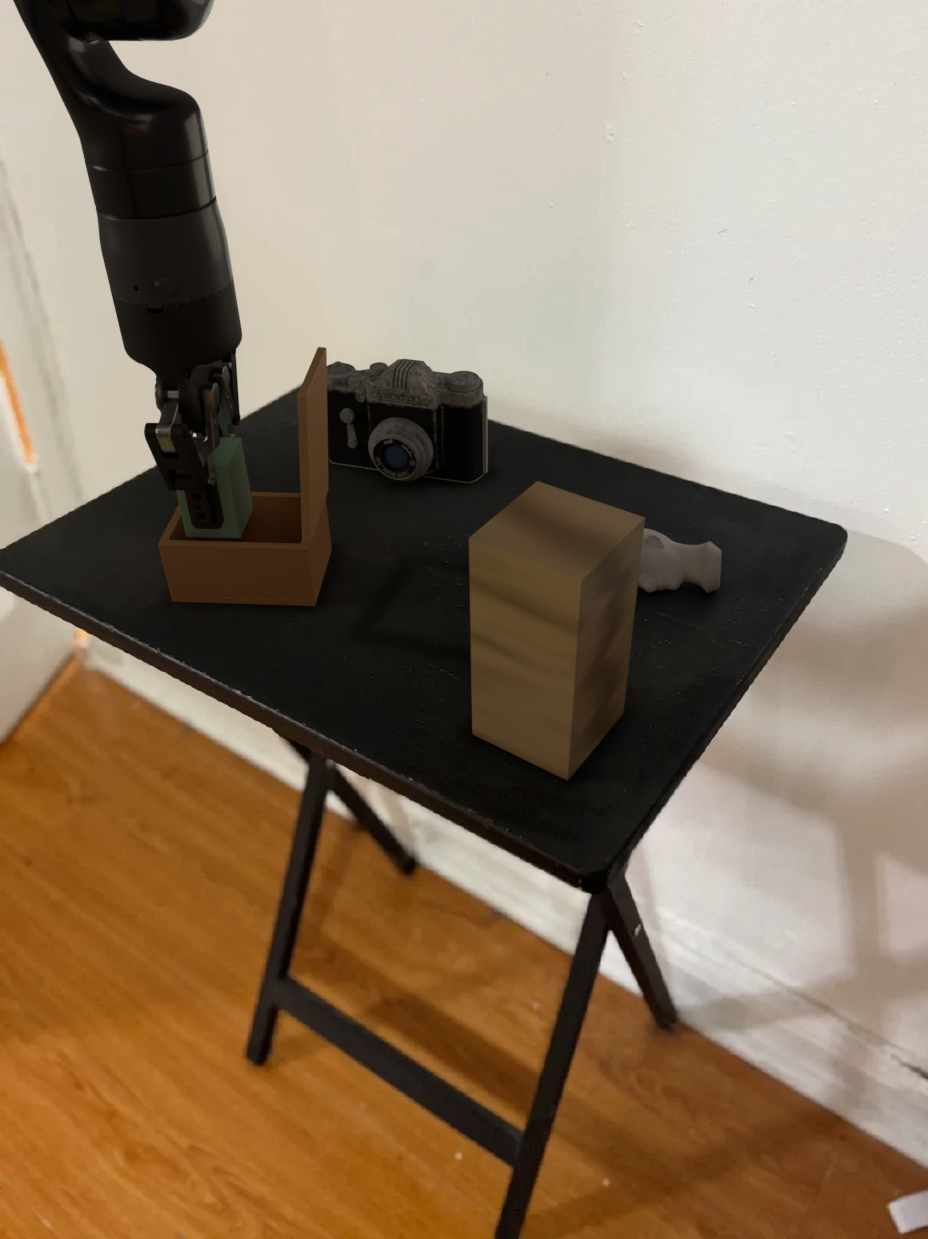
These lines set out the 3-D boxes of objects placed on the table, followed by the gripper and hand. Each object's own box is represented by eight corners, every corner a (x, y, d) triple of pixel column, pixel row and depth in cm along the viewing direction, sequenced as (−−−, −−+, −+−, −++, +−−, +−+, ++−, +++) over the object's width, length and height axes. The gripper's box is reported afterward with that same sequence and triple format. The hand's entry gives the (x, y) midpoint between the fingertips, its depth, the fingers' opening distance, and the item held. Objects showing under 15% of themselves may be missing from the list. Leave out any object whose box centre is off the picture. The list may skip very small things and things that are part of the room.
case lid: (297, 395, 64) (306, 396, 64) (317, 346, 70) (326, 347, 70) (302, 543, 72) (310, 544, 72) (320, 488, 77) (328, 489, 77)
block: (186, 537, 74) (169, 464, 70) (200, 507, 77) (186, 436, 73) (240, 538, 74) (227, 465, 70) (253, 508, 77) (241, 437, 73)
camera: (307, 480, 89) (292, 373, 83) (336, 442, 94) (325, 338, 88) (470, 504, 85) (469, 394, 79) (492, 464, 90) (492, 358, 84)
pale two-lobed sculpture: (605, 595, 77) (631, 545, 80) (707, 625, 74) (731, 572, 76) (600, 559, 74) (627, 508, 76) (707, 589, 71) (733, 535, 73)
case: (172, 602, 76) (157, 544, 73) (198, 546, 81) (186, 490, 78) (315, 606, 75) (307, 548, 72) (331, 549, 81) (325, 493, 77)
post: (568, 781, 62) (581, 581, 52) (471, 734, 65) (468, 537, 55) (623, 713, 66) (645, 517, 56) (531, 672, 69) (537, 480, 60)
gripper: (147, 236, 70) (193, 458, 80) (70, 320, 59) (135, 565, 69) (256, 237, 69) (287, 460, 80) (199, 322, 58) (244, 568, 69)
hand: (216, 508), depth 75 cm, fingers closed on block, 4 cm apart
